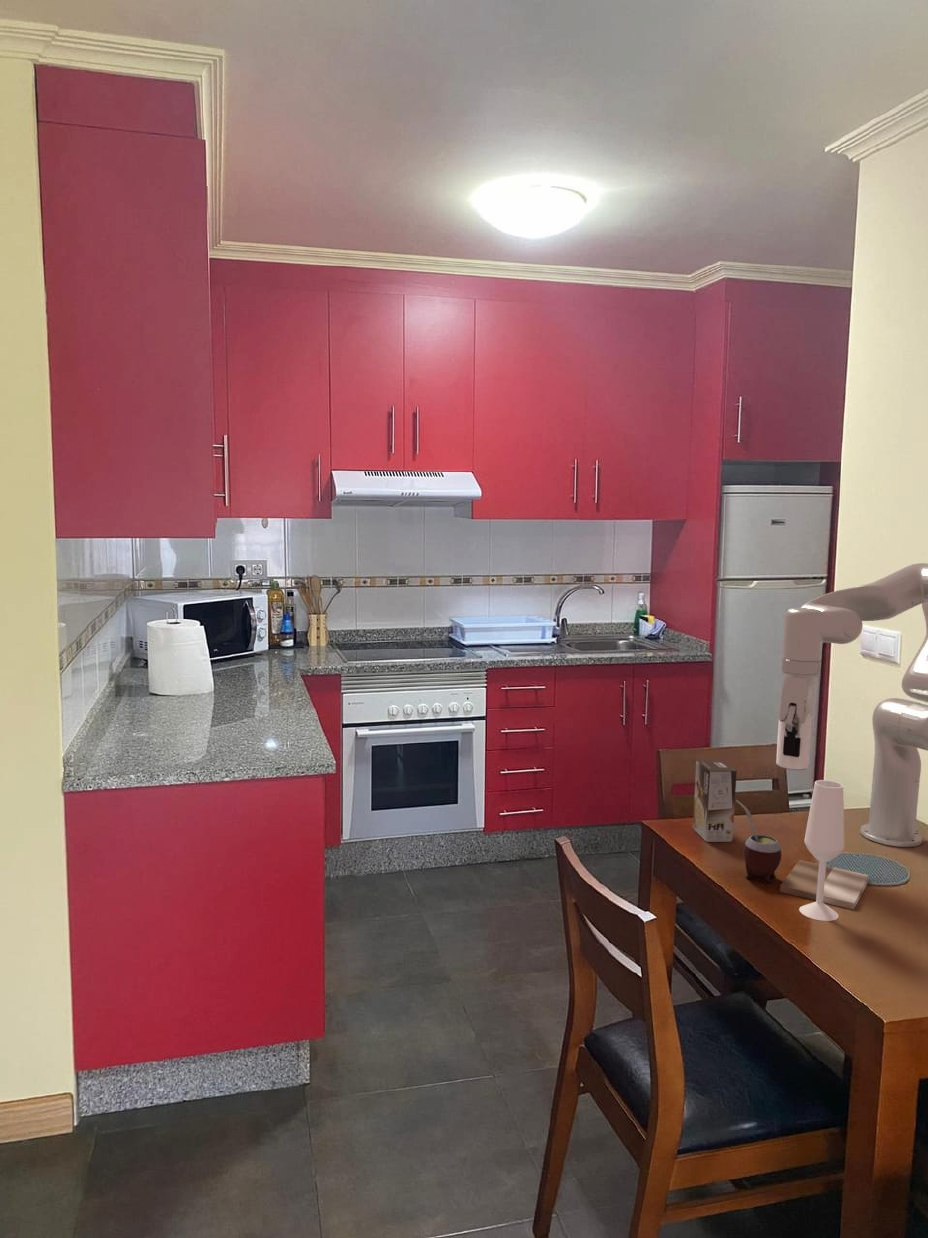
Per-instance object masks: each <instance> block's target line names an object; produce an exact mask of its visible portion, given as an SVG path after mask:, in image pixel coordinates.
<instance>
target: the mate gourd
mask: <svg viewBox="0 0 928 1238" xmlns="http://www.w3.org/2000/svg"><path fill="white" fill-rule="evenodd" d="M735 802H736V803H737V804H739V805H740V806H741V808H743V809H744V811H745V812H746V813H745V814H746V817H747V818H748V821H749V824H750V828H751V831H752V834H753V835H751V836H749V837H748V838H747V839H746V841H745V843H744V847H743V858H744V862H745V870H746V876H745V879H746V880H748V881H750V880H760V881H762V882H763V883H764V884H766V885H767V886H768V885H771V883H772V882H771V881H770V879H776V875H775V871H776V870H777V869H778V868H779V866H780V863H781V862H782V861H781V860H782V850H781V849H782V848H781V845H780V843H779V841H778V840H777V839H776V838H774V837H772V836H770V835H765V834H757V832H756V829H755V825H754V822H753V818H752V814H751V811H750V810H749V809H748V808H747V807H746V806H745V805H744V804H743V803H741V802H740V801H739V800H738V799H735Z"/></svg>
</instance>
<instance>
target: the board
mask: <svg viewBox="0 0 928 1238" xmlns="http://www.w3.org/2000/svg"><path fill="white" fill-rule="evenodd" d="M818 872H819V863H817V862H816V863H815V862H810V861H808V860H807V861H806V860H803V859H799V860H798V861H797V863H796V864H795V865H794V867H793V868H792V869H791V871H790V872H789V873H788V875H787V876H786V877H785V878H784V879H783V881H782V883H781V884H780V886H779V893H784V894H788V895H792V896H796V897H800V898H805V899H809V900H814V901H816V897H817V885H818ZM869 879H870V875H869V874H864V873H861V872H856V871H851V870H848V869H847V870H846V869H842V868H838V867H833V866H830V865H826V872H825V885H824V897H823V903H824V904H829V905H833V906H837V907H842V908H846V909H848V910H849V909H850V910H855V908H856V906H857V904H858V902H859V901H860V898H861V897H862V894H863V893H864V891H865V889H866V887H867V885H868V883H867V882H869V881H868V880H869Z"/></svg>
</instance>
